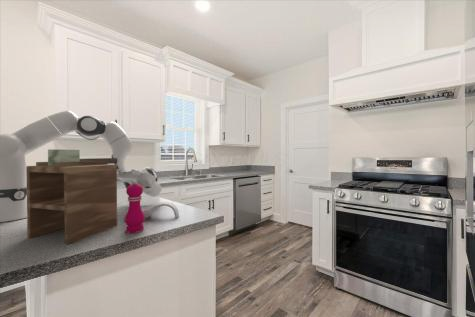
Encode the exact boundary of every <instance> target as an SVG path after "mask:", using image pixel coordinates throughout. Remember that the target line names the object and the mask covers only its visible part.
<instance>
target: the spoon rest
mask: <svg viewBox="0 0 475 317" xmlns="http://www.w3.org/2000/svg"><path fill="white" fill-rule="evenodd" d="M140 207H141V206H140ZM160 207H169V208H170V209H172V211H173V213H174V218H176V219H177V218H178V217H179V215H180V214H179V213H180V212H179V209H178V208H177V206H176V205H175V204H173V203H171V202H166V201H164V202H158V203H157V204H152V205H150V206H142V207H141V210H142V211H143V213H144V217H145V219H147V218H149V217H150V216H151V215H153V213H154V212H155V211H157V210H158V209H159V208H160Z"/></svg>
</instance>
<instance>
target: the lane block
mask: <svg viewBox="0 0 475 317" xmlns="http://www.w3.org/2000/svg"><path fill="white" fill-rule="evenodd" d="M86 161H107V164H112V165H115V163H117V158H112V157H106V158H105V157H102V158H101V157H98V158H96V157H95V158H80V149H47V162H48V166H54V163H57V162H86Z"/></svg>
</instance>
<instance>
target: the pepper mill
mask: <svg viewBox="0 0 475 317" xmlns="http://www.w3.org/2000/svg"><path fill="white" fill-rule="evenodd" d="M125 191H126V192H125V194H126V195H127V201H128V205H129V207H128V210H127V211H126V215H125V218H124V223H125V224H126V227H125V232H126V233H129V234H134V233H139V232H142V231H143V230H144V224H143V223H144V222H145V219H146V218H145V217H144V213H143V211H142V210H141V200H142V194H143V193H144V192H143V188H142V186H140V185H138V184H137V181H136V180H134V181H133V182H132V185H130V186H128V188H127V189H126V190H125Z"/></svg>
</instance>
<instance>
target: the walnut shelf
mask: <svg viewBox="0 0 475 317" xmlns="http://www.w3.org/2000/svg"><path fill="white" fill-rule="evenodd" d="M26 172H27V217H26V218H27V219H26V224H27V225H26V226H27V230H26V231H27V239H33V238H37V237H38V236H43V235H45V234H50V233H51V232H56V231H59V230H62V229H64V245H72V244H74V243H76V242H77V243H78V242H79V241H81V240H85V239H86V238H87V239H88V238H89V237H92V236H95V235H97V234H100V233H102V232H104V231H105V232H106V231H108V230H109V229H112V228H115V227H117V226H118V195H117V194H118V179H117V165H115V164H107V161H86V162H57V163H54V166H48V161H36V162H35V165H26Z"/></svg>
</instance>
